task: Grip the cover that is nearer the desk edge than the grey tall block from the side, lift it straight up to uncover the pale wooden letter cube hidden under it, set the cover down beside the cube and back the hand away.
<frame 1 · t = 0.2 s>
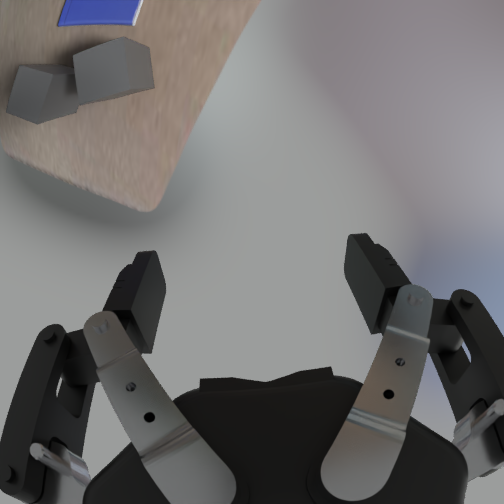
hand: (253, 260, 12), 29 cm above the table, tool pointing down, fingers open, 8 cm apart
cube cover: (67, 88, 30), on the table
hard drive: (105, 1, 24), on the table
grey tall block: (130, 73, 30), on the table
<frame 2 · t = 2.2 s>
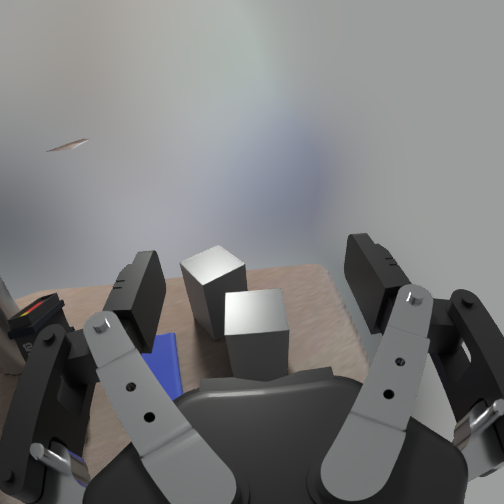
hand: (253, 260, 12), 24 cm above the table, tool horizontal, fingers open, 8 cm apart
cube cover: (259, 366, 34), on the table
hard drive: (152, 379, 34), on the table
grey tall block: (221, 319, 42), on the table
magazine: (79, 381, 32), on the table
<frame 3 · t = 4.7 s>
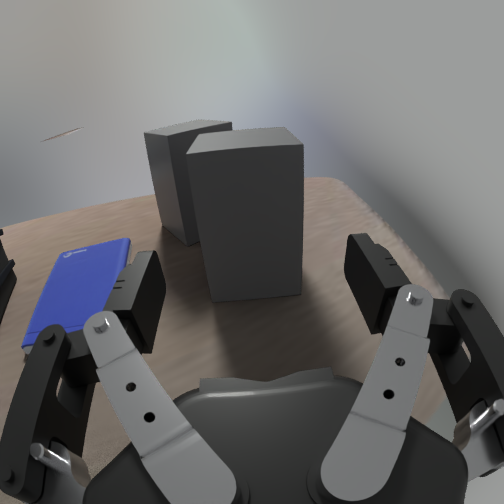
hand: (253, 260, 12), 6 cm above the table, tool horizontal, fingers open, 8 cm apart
cube cover: (253, 272, 22), on the table
hard drive: (85, 299, 21), on the table
grey tall block: (199, 224, 29), on the table
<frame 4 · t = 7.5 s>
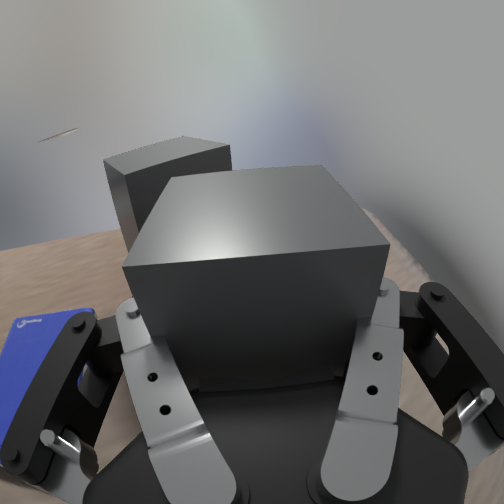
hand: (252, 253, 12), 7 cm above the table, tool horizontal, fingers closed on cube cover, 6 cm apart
cube cover: (263, 383, 14), on the table, touching gripper
hard drive: (42, 394, 13), on the table
grey tall block: (187, 284, 21), on the table
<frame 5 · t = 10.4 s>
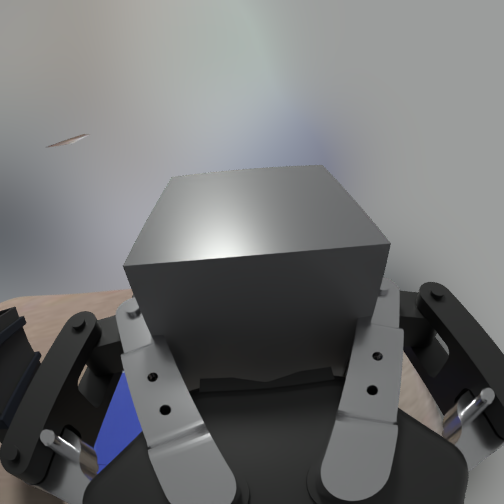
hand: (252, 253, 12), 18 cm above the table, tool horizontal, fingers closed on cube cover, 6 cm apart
cube cover: (264, 383, 14), point 11 cm above the table, touching gripper
hard drive: (137, 424, 23), on the table
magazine: (51, 421, 21), on the table
when the fingers open (7 cm above the table, at t = 13.3 s): cube cover stays where it is, on the table.
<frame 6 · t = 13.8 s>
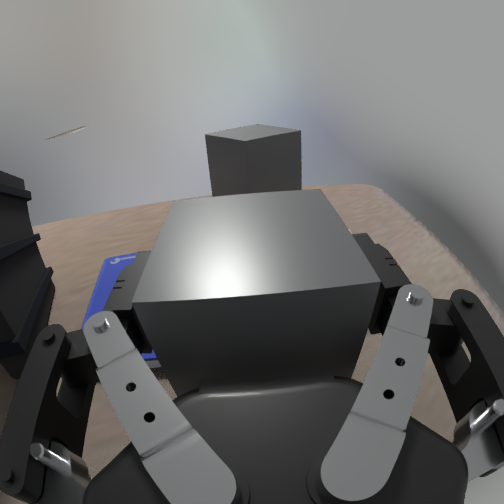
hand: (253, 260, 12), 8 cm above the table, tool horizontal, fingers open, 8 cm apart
cube cover: (263, 393, 15), on the table
hard drive: (140, 311, 22), on the table
grey tall block: (258, 230, 29), on the table
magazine: (38, 321, 20), on the table
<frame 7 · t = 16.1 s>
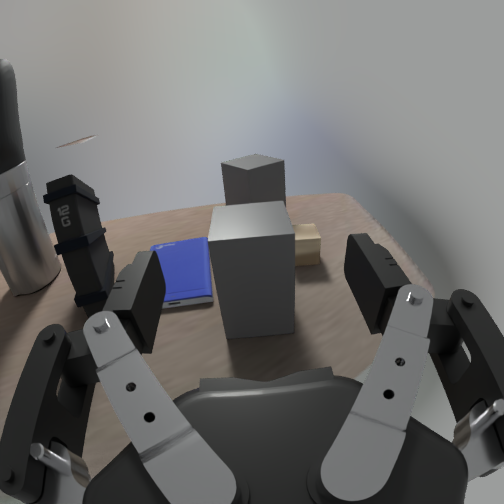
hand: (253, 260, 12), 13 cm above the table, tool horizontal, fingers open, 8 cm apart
cube cover: (258, 313, 28), on the table
letter cube: (301, 257, 36), on the table
hard drive: (178, 277, 35), on the table
grey tall block: (257, 227, 43), on the table
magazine: (104, 287, 33), on the table
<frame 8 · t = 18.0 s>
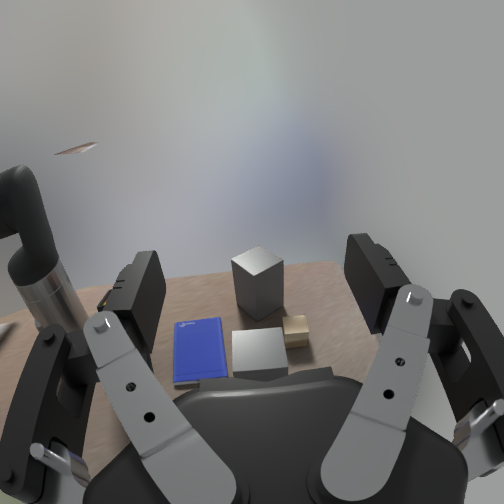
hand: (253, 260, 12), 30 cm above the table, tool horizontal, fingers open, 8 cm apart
cube cover: (262, 390, 38), on the table
letter cube: (294, 339, 45), on the table
hard drive: (200, 353, 45), on the table
grey tall block: (259, 304, 53), on the table
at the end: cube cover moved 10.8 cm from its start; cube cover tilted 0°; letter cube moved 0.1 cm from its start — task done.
